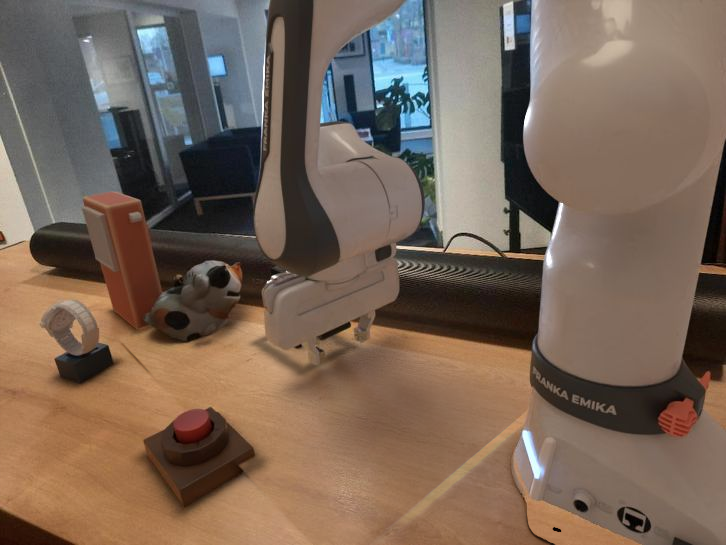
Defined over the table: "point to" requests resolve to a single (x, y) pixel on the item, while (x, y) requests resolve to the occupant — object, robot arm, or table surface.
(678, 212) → the robot arm
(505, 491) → the table surface
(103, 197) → the control panel
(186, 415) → the button
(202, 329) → the lucky cat figurine
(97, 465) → the table surface
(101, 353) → the watch
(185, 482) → the button box
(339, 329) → the lever
